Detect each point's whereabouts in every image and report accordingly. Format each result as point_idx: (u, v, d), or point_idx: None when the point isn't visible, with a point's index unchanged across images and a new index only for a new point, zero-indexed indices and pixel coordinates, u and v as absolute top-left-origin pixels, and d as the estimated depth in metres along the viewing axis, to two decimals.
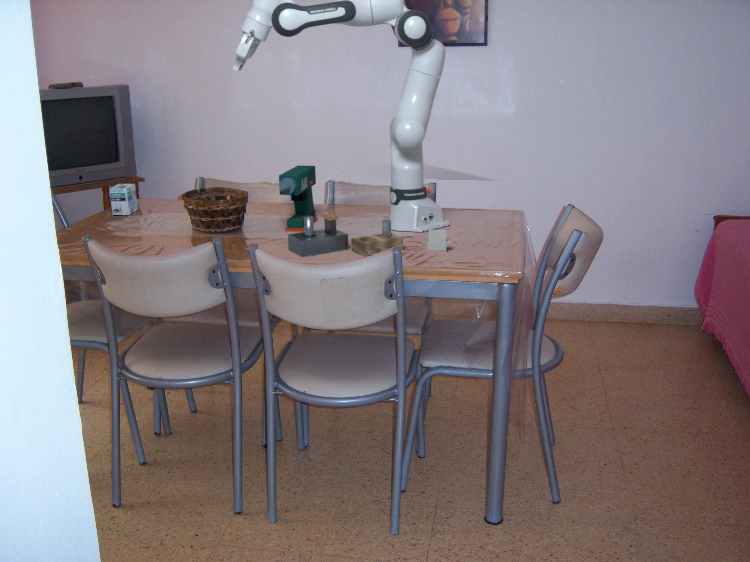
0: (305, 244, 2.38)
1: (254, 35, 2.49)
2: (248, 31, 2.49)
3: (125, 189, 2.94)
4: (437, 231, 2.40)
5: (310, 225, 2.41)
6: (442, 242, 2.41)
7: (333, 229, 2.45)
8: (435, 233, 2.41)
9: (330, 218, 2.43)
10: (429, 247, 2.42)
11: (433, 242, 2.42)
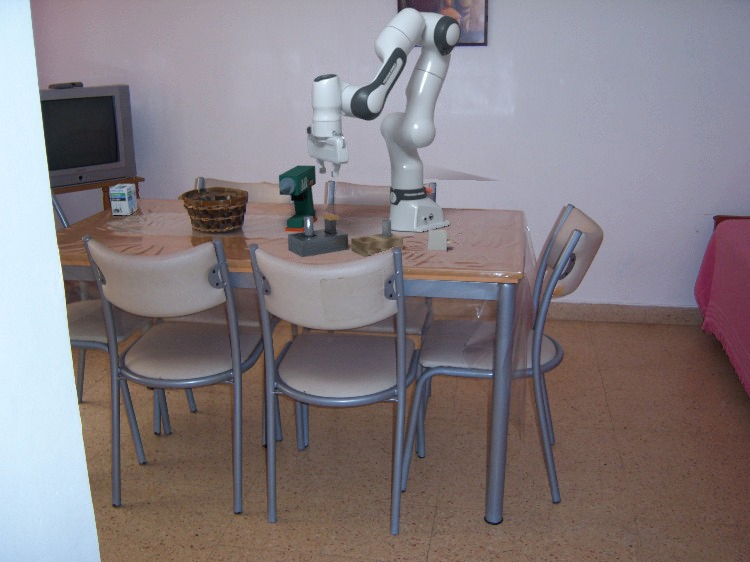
0: (305, 244, 2.38)
1: None
2: (330, 134, 2.34)
3: (125, 189, 2.94)
4: (437, 231, 2.41)
5: (310, 225, 2.41)
6: (442, 242, 2.41)
7: (333, 229, 2.45)
8: (435, 233, 2.41)
9: (330, 218, 2.43)
10: (429, 247, 2.42)
11: (433, 242, 2.42)
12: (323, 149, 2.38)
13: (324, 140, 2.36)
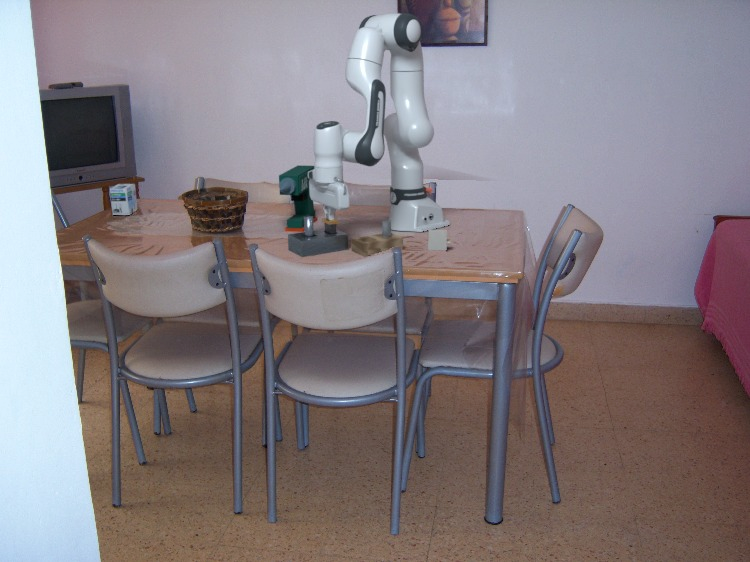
0: (305, 244, 2.38)
1: None
2: (331, 181, 2.38)
3: (125, 189, 2.94)
4: (437, 231, 2.41)
5: (310, 225, 2.41)
6: (442, 242, 2.42)
7: (333, 233, 2.46)
8: (435, 233, 2.41)
9: (330, 222, 2.43)
10: (429, 247, 2.42)
11: (433, 242, 2.42)
12: (324, 194, 2.42)
13: (325, 186, 2.40)
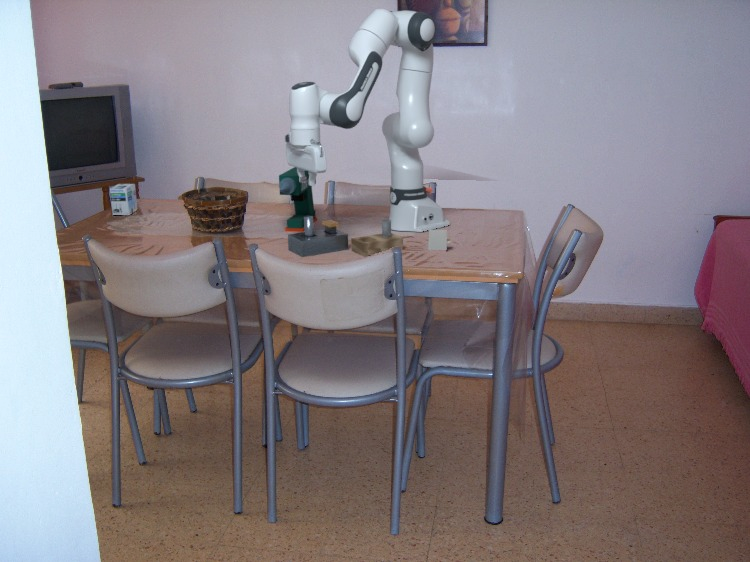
0: (305, 244, 2.38)
1: None
2: (308, 143, 2.31)
3: (125, 189, 2.94)
4: (437, 231, 2.41)
5: (310, 225, 2.41)
6: (442, 242, 2.42)
7: None
8: (435, 233, 2.41)
9: (330, 225, 2.44)
10: (429, 247, 2.42)
11: (433, 242, 2.42)
12: (301, 158, 2.35)
13: (302, 148, 2.33)
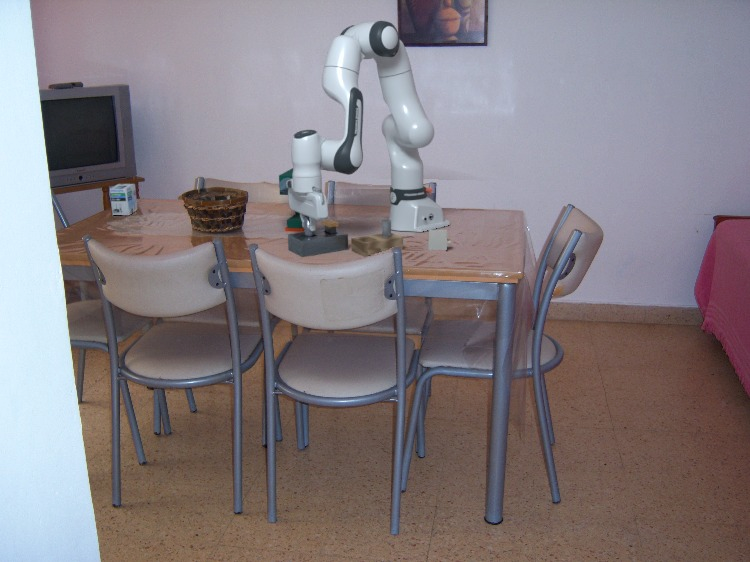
0: (305, 244, 2.38)
1: None
2: (309, 190, 2.35)
3: (125, 189, 2.94)
4: (438, 231, 2.41)
5: None
6: (442, 242, 2.42)
7: None
8: (435, 233, 2.41)
9: (330, 225, 2.44)
10: (430, 247, 2.42)
11: (434, 242, 2.42)
12: (303, 204, 2.39)
13: (304, 195, 2.37)
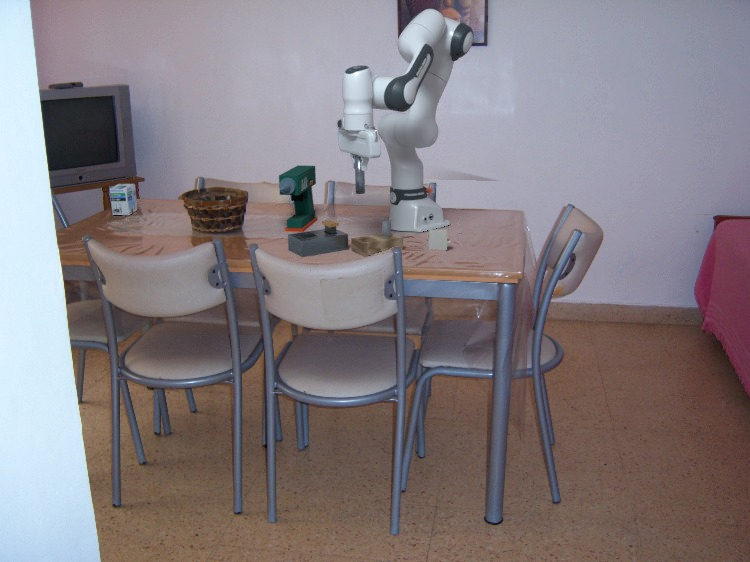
0: (305, 244, 2.38)
1: None
2: (361, 128, 2.28)
3: (125, 189, 2.94)
4: (438, 231, 2.41)
5: None
6: (442, 242, 2.42)
7: None
8: (435, 233, 2.41)
9: (330, 225, 2.44)
10: (430, 247, 2.42)
11: (434, 242, 2.42)
12: (354, 143, 2.32)
13: (355, 134, 2.30)
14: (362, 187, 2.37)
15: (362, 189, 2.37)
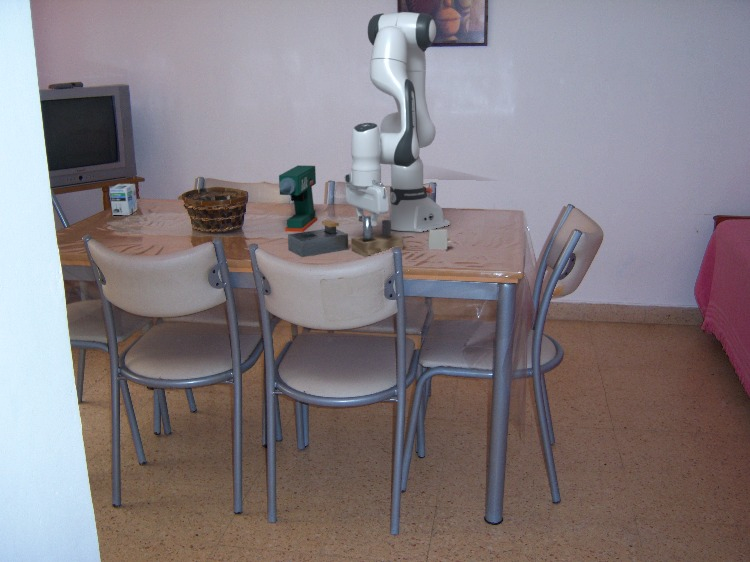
0: (305, 244, 2.38)
1: None
2: (370, 184, 2.33)
3: (125, 189, 2.94)
4: (438, 231, 2.41)
5: (369, 226, 2.39)
6: (442, 242, 2.42)
7: None
8: (436, 233, 2.41)
9: (330, 225, 2.44)
10: (430, 247, 2.42)
11: (434, 242, 2.42)
12: (362, 198, 2.37)
13: (364, 189, 2.34)
14: None
15: None
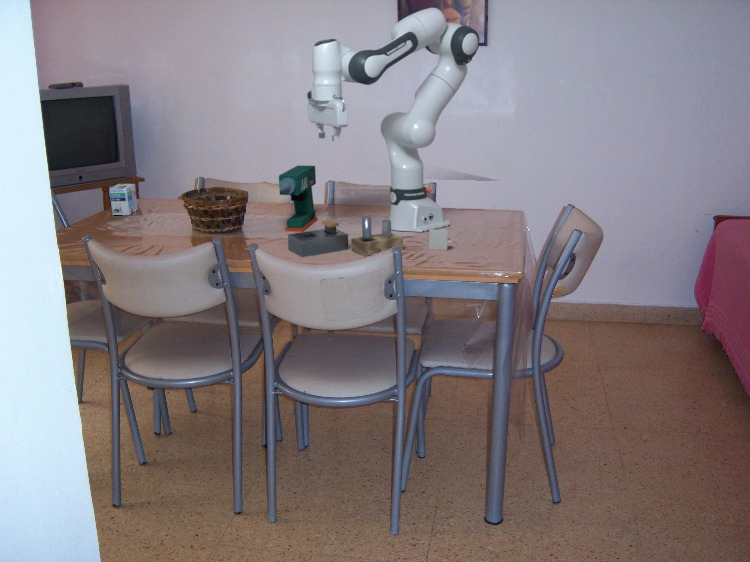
0: (305, 244, 2.38)
1: None
2: (330, 98, 2.38)
3: (125, 189, 2.94)
4: (438, 231, 2.41)
5: (368, 226, 2.40)
6: (442, 241, 2.42)
7: None
8: (436, 233, 2.41)
9: (330, 225, 2.44)
10: (430, 247, 2.42)
11: (434, 242, 2.42)
12: (323, 113, 2.42)
13: (324, 104, 2.39)
14: None
15: None
